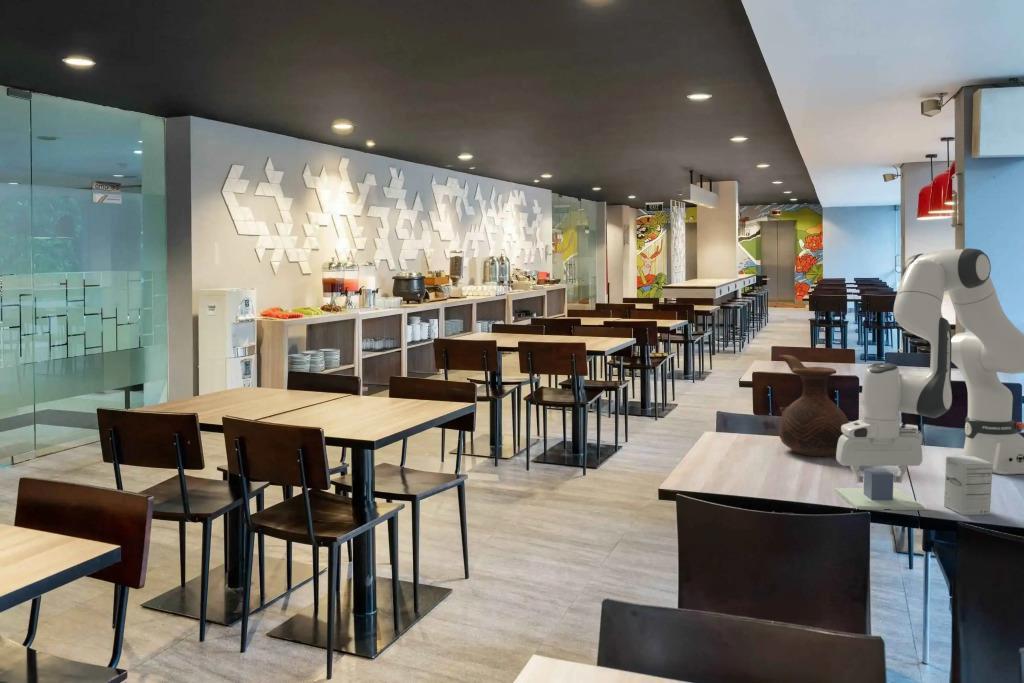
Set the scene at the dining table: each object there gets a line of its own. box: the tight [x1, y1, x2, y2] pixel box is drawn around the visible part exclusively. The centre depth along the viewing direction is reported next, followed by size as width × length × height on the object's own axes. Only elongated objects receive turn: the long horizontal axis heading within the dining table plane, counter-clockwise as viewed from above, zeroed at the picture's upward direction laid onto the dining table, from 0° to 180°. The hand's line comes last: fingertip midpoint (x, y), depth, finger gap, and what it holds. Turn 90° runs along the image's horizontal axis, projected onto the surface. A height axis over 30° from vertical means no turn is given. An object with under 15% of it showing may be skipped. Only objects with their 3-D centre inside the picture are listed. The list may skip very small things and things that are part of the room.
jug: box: [777, 354, 850, 457], centre depth 256 cm, size 22×22×30 cm
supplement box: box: [943, 455, 993, 516], centre depth 196 cm, size 7×7×13 cm
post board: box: [834, 487, 925, 511], centre depth 205 cm, size 16×16×6 cm
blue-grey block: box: [863, 468, 895, 500], centre depth 205 cm, size 5×5×7 cm
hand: (878, 482), depth 205 cm, fingers open, 8 cm apart
